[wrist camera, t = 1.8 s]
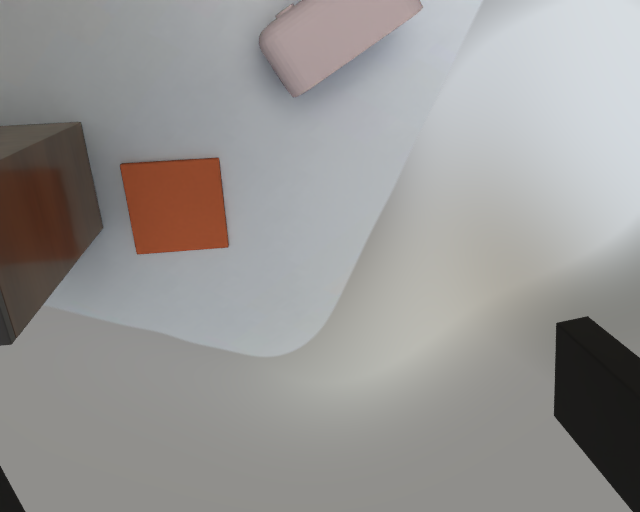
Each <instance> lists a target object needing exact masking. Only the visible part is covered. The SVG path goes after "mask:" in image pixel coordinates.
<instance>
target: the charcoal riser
mask: <svg viewBox="0 0 640 512" xmlns="http://www.w3.org/2000/svg"><path fill="white" fill-rule="evenodd" d="M102 229H103V225H102V220H101V215H100V211H99V206H98V201H97V196H96V192H95V187H94V182H93V178H92V173H91V168H90V164H89V159H88V154H87V150H86V145H85V140H84V136H83V131H82V126H81V122H69V123H49V124H30V125H10V126H0V346H1V345H11V344H12V343H13V342H14V341H15V339H16V338H17V337H18V336H19V335H20V333H21V332H22V331H23V329H24V328H25V327H26V325H27V324H28V323H29V322H30V321H31V319H32V318H33V317H34V315H35V314H36V313H37V311H38V310H39V309H40V308H41V306H42V305H43V304H44V303H45V301H46V300H47V299H48V298H49V296H50V295H51V294H52V292H53V291H54V290H55V289H56V287H57V286H58V285H59V284H60V282H61V281H62V280H63V278H64V277H65V276H66V275H67V273H68V272H69V271H70V269H71V268H72V267H73V266H74V264H75V263H76V262H77V261H78V259H79V258H80V257H81V255H82V254H83V253H84V252H85V250H86V249H87V248H88V247H89V245H90V244H91V243H92V241H93V240H94V239H95V238H96V236H97V235H98V234H99V233H100V231H101V230H102Z"/></svg>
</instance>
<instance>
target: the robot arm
mask: <svg viewBox="0 0 640 512" xmlns="http://www.w3.org/2000/svg"><path fill="white" fill-rule="evenodd" d="M554 416H555V417H556V419H557V420H558V421H559V422H560V423H561V425H562V426H563V427H564V428H565V430H566V431H567V432H568V433H569V435H570V436H571V437H572V438H573V439H574V441H575V442H576V443H577V444H578V445H579V447H580V448H581V449H582V450H583V452H584V453H585V454H586V455H587V456H588V458H589V459H590V460H591V461H592V463H593V464H594V465H595V466H596V467H597V469H598V470H599V471H600V472H601V473H602V475H603V476H604V477H605V478H606V479H607V481H608V482H609V483H610V484H611V486H612V487H613V488H614V489H615V491H616V492H617V493H618V494H619V495H620V496H621V498H622V499H623V500H624V501H625V503H626V504H627V505H628V506H629V508H630V509H631V510H632V511H633V512H640V358H639V357H638V356H637V355H635V354H634V353H633V352H631V351H630V350H629V349H628V348H627V347H625V346H624V345H623V344H621V343H620V342H619V341H618V340H617V339H615V338H614V337H613V336H611V335H610V334H609V333H608V332H607V331H605V330H604V329H603V328H602V327H600V326H599V325H598V324H596V323H595V322H594V321H593V320H592V319H590V318H589V317H588V316H587V317H583V318H578V319H573V320H568V321H564V322H559V323H556V359H555V396H554ZM0 512H25V510H24V509H23V507H22V505H21V503H20V502H19V499H18V498H17V496H16V494H15V492H14V490H13V489H12V487H11V485H10V483H9V481H8V479H7V477H6V476H5V474H4V472H3V470H2V468H1V466H0Z"/></svg>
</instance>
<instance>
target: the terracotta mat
mask: <svg viewBox="0 0 640 512" xmlns="http://www.w3.org/2000/svg"><path fill="white" fill-rule="evenodd" d="M120 168H121V173H122V179H123V184H124V189H125V194H126V200H127V205H128V210H129V215H130V221H131V226H132V231H133V236H134V242H135V247H136V252H137V254H149V253H162V252H174V251H187V250H200V249H213V248H225V247H228V245H229V244H228V235H227V226H226V217H225V209H224V200H223V191H222V182H221V173H220V164H219V158H206V159H189V160H172V161H156V162H139V163H122V164H121V165H120Z"/></svg>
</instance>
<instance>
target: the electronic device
mask: <svg viewBox="0 0 640 512" xmlns="http://www.w3.org/2000/svg"><path fill="white" fill-rule="evenodd" d="M422 8H423V6H422V4H421V2H420V0H302V1H300V2H299V3H298V4H296V5H295V6H294V4H291V5H289V6H288V7H287V8H285V9H284V10H283V11H281V12H280V13H278V14H277V15H276V16H275V17H276V20H274V21H273V22H272V23H270V24H269V25H268V26H267V27H266V28H265V29H264V30H263V31H262V32H261V34H260V37H259V46H260V49H261V51H262V52H263V54H264V55H265V57H266V59H267V60H268V62H269V63H270V65H271V66H272V68H273V69H274V71H275V72H276V74H277V75H278V77H279V79H280V80H281V82H282V83H283V85H284V86H285V88H286V89H287V90H288V92H289V93H290V94H291V95H292V96H293V97H297V96H299V95H301V94H303V93H305V92H306V91H308V90H309V89H311V88H312V87H314V86H315V85H317V84H318V83H320V82H321V81H322V80H324V79H325V78H327V77H328V76H330V75H331V74H332V73H334V72H335V71H337V70H338V69H339V68H341V67H342V66H344V65H345V64H347V63H348V62H349V61H351V60H352V59H354V58H355V57H357V56H358V55H359V54H361V53H362V52H364V51H365V50H366V49H368V48H369V47H371V46H372V45H374V44H375V43H376V42H378V41H379V40H381V39H382V38H384V37H385V36H386V35H388V34H389V33H391V32H392V31H393V30H395V29H396V28H398V27H399V26H401V25H402V24H403V23H405V22H406V21H408V20H409V19H410V18H412V17H413V16H415V15H416V14H417V13H418V12H419V11H420V10H421V9H422Z"/></svg>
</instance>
